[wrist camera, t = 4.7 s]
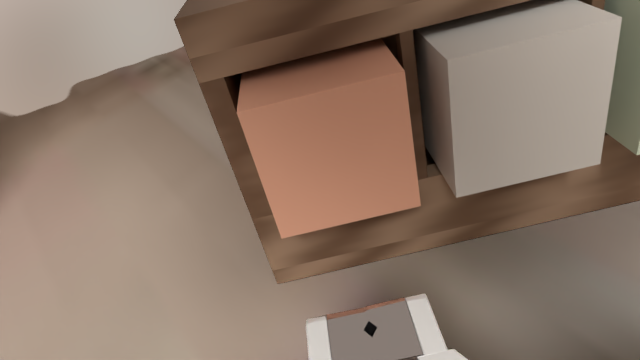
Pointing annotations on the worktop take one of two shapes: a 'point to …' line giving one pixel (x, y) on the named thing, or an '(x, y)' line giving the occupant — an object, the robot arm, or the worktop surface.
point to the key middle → (516, 91)
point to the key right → (626, 77)
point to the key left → (331, 137)
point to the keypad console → (435, 194)
